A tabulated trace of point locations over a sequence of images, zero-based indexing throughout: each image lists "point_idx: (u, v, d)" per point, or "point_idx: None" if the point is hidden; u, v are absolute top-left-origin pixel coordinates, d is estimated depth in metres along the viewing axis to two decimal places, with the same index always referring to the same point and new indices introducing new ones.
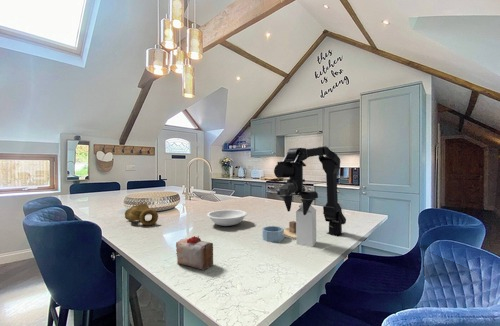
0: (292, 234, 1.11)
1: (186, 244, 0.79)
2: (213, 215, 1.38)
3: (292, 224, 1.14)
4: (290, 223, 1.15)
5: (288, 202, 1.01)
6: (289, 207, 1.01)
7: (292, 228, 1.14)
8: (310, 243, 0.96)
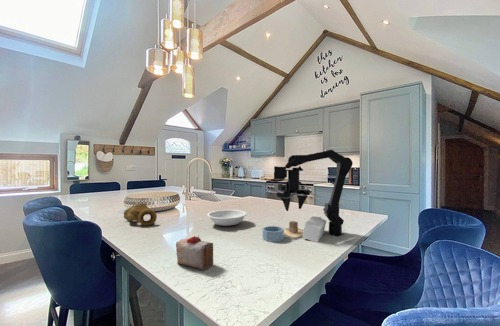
0: (292, 234, 1.11)
1: (186, 244, 0.79)
2: (213, 215, 1.38)
3: (292, 224, 1.14)
4: (290, 223, 1.15)
5: (300, 201, 1.18)
6: (300, 205, 1.18)
7: (292, 228, 1.14)
8: (319, 226, 1.02)
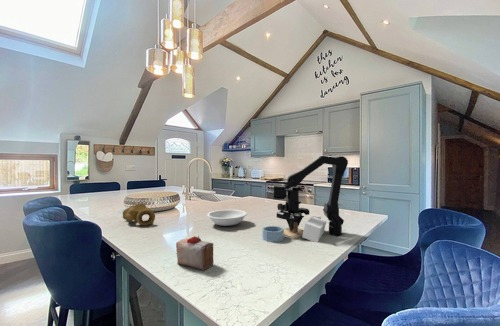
0: (292, 234, 1.11)
1: (186, 244, 0.79)
2: (213, 215, 1.38)
3: None
4: None
5: (296, 221, 1.16)
6: None
7: None
8: (319, 226, 1.02)
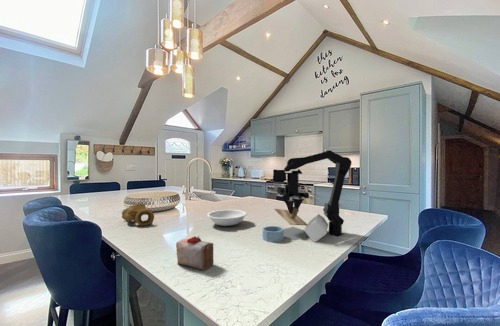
0: (289, 219, 1.11)
1: (186, 244, 0.79)
2: (213, 215, 1.38)
3: (293, 209, 1.13)
4: None
5: (296, 204, 1.16)
6: None
7: (291, 213, 1.14)
8: (325, 231, 1.01)
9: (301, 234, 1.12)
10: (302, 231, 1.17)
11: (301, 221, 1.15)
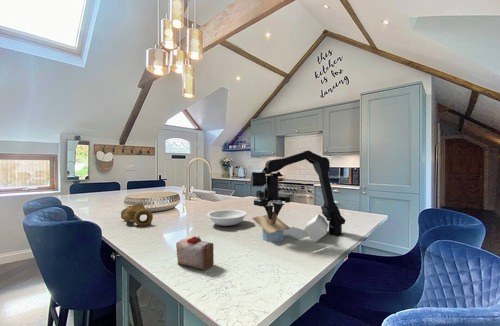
0: (268, 227, 1.04)
1: (186, 244, 0.79)
2: (213, 215, 1.38)
3: None
4: None
5: (276, 209, 1.08)
6: None
7: (270, 219, 1.06)
8: (325, 231, 1.01)
9: (301, 234, 1.12)
10: (302, 231, 1.17)
11: (282, 225, 1.07)
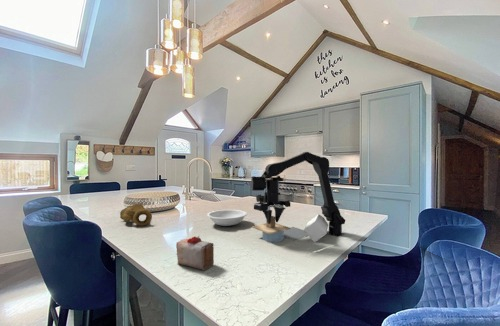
0: (268, 229, 1.04)
1: (186, 244, 0.79)
2: (213, 215, 1.38)
3: None
4: None
5: (277, 213, 1.08)
6: (276, 218, 1.08)
7: None
8: (325, 231, 1.01)
9: (301, 234, 1.12)
10: (302, 231, 1.17)
11: (282, 227, 1.07)
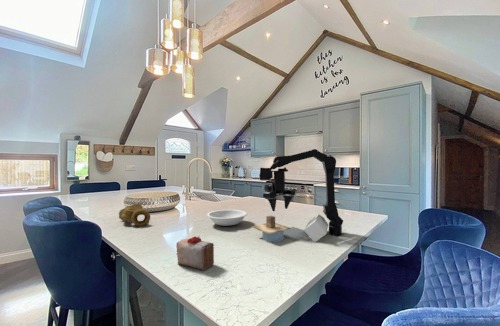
0: (268, 229, 1.04)
1: (186, 244, 0.79)
2: (213, 215, 1.38)
3: (269, 218, 1.07)
4: (267, 218, 1.08)
5: (286, 201, 1.21)
6: (286, 205, 1.20)
7: (269, 223, 1.07)
8: (325, 231, 1.01)
9: (301, 234, 1.12)
10: (302, 231, 1.17)
11: (282, 227, 1.07)
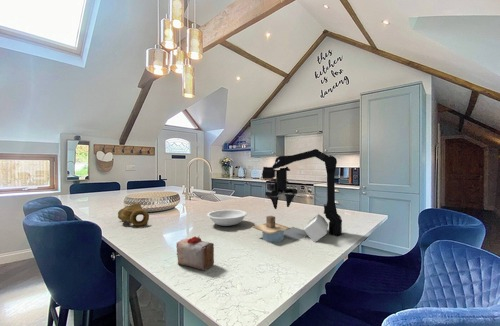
0: (268, 229, 1.04)
1: (186, 245, 0.79)
2: (213, 215, 1.38)
3: (269, 218, 1.07)
4: (267, 218, 1.08)
5: (288, 199, 1.24)
6: (288, 203, 1.24)
7: (269, 223, 1.07)
8: (325, 231, 1.01)
9: (301, 234, 1.12)
10: (302, 231, 1.17)
11: (282, 227, 1.07)
